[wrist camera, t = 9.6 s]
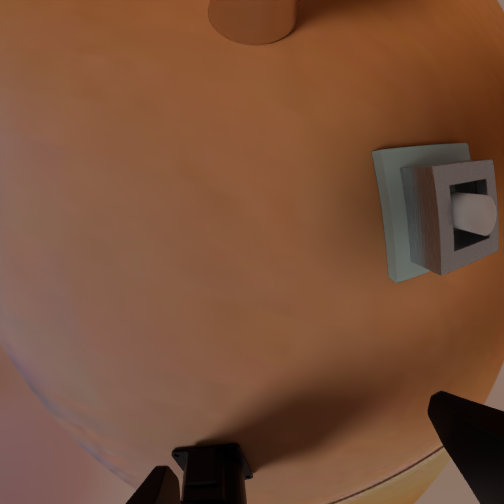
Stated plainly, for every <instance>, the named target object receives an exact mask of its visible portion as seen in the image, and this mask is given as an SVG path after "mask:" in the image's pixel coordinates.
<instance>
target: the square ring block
mask: <svg viewBox="0 0 504 504" xmlns="http://www.w3.org/2000/svg"><path fill="white" fill-rule="evenodd" d="M399 169H400V174H401V180H402V186H403V193H404V200H405V207H406V215H407V224H408V234H409V246H410V261H411V262H413V263H415V264H417V265H419V266H422V267H424V268H426V269H428V270H430V271H432V272H434V273H437V274H439V275H441V276H442V275H444V274H446V273H449V272H451V271H454V270H456V269H458V268H461V267H463V266H465V265H468V264H470V263H472V262H475V261H477V260H479V259H481V258H484V257H486V256H488V255H490V254H492V253H494V252H496V251H498V246H499V228H498V204H497V191H496V181H495V172H494V165H493V160H459V161H450V162H442V163H434V164H427V165H419V166H412V167H405V168H399ZM449 185H455V192H459V193H470V194H479V195H488V196H490V197H491V198H492V199H493V201H494V203H495V206H496V212H497V216H496V223H495V226H494V228H493V230H492V232H491V233H490V234H489V235H486V236H484V235H480V234H476V233H472V232H469V231H465V230H461V229H458V230H456V231H453V218H452V206H451V196H450V188H449Z"/></svg>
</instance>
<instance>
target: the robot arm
mask: <svg viewBox="0 0 504 504" xmlns="http://www.w3.org/2000/svg"><path fill="white" fill-rule="evenodd" d="M428 416H429V418H430V420H431V422H432V424H433V426H434V428H435V430H436V432H437V434H438V436H439V438H440V440H441V442H442V444H443V446H444V447H445V449H446V451H447V452H448V454H449V455H450V457H451V458H452V460H453V461H454V463H455V464H456V466H457V467H458V469H459V470H460V472H461V474H462V475H463V477H464V478H465V480H466V481H467V483H468V485H469V486H470V488H471V489H472V491H473V493H474V494H475V496H476V498H477V499H478V501H479V502H480V504H504V411H501V410H498V409H495V408H491V407H488V406H485V405H482V404H479V403H476V402H473V401H470V400H467V399H464V398H461V397H458V396H455V395H453V394H450V393H447V392H444V391H439V392H437V393H435V394H433V395H432V396H431V398H430V402H429V406H428ZM172 457H173V458H174V459H175V461H176V462H177V463H178V465H179V466H180V467H181V469H182V470H183V471H184V474H183V485H182V496H181V501H180V489H179V480H178V478H177V476H176V475H175V474H174V472H173V471H172V470H171V469H170V467H169V466H156V467H155V468H154V469H153V470H152V472H151V473H150V474H149V475H148V477H147V478H146V479H145V480H144V482H143V483H142V484H141V485H140V487H139V488H138V489H137V490H136V492H135V493H134V494H133V496H132V497H131V498H130V499H129V500H128V501H127V503H126V504H247V501H246V490H245V480H246V479H251V478H253V473H252V471H251V469H250V467H249V465H248V463H247V461H246V459H245V457H244V455H243V453H242V451H241V448H240V446H239V445H238V444H236V443H231V444H225V445H217V446H209V447H200V448H190V449H177V450H173V451H172Z"/></svg>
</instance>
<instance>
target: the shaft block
mask: <svg viewBox="0 0 504 504" xmlns="http://www.w3.org/2000/svg"><path fill="white" fill-rule="evenodd" d="M372 157H373V162H374V167H375V172H376V177H377V183H378V189H379V195H380V201H381V208H382V215H383V223H384V231H385V240H386V250H387V262H388V276H389V278H390V279H391V280H393V281H394V282H396V283H399V282H401V281H404V280H407V279H410V278H413V277H416V276H418V275H421V274H424V273H427V272H429V271H430V270H428V269H426V268H424V267H422V266H419V265H417V264H415V263H413V262H411V261H410V246H409V234H408V224H407V215H406V207H405V200H404V193H403V186H402V180H401V174H400V169H399V168H405V167H412V166H419V165H427V164H434V163H442V162H450V161H459V160H471V159H470V153H469V147H468V143H454V144H437V145H424V146H412V147H402V148H392V149H383V150H377V151H372ZM449 188H450V196H451V206H452V218H453V231H456V230H458V229H461V230H465V231H469V232H472V233H476V234H480V235H484V236H486V235H489V234H490V233H491V232H492V230H493V228H494V226H495V223H496V216H497V212H496V206H495V203H494V201H493V199H492V198H491V197H490V196H488V195H479V194H470V193H459V192H455V185H449Z"/></svg>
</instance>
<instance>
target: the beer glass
mask: <svg viewBox="0 0 504 504" xmlns="http://www.w3.org/2000/svg"><path fill="white" fill-rule="evenodd" d="M299 1H300V0H210V2H209V6H208V17H209V21H210V23H211V24H212V26H213V27H214V29H215V30H216V31H217V32H218V33H220V34H221V35H222V36H224V37H226V38H228V39H230V40H232V41H235V42H239V43H243V44H251V45H260V44H268V43H272V42H275V41H278V40H280V39H282V38H284V37H285V36H287V35H288V34H289V33H290V32H291V31H292V30H293V28H294V27H295V25H296V22H297V19H298V10H299Z"/></svg>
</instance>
